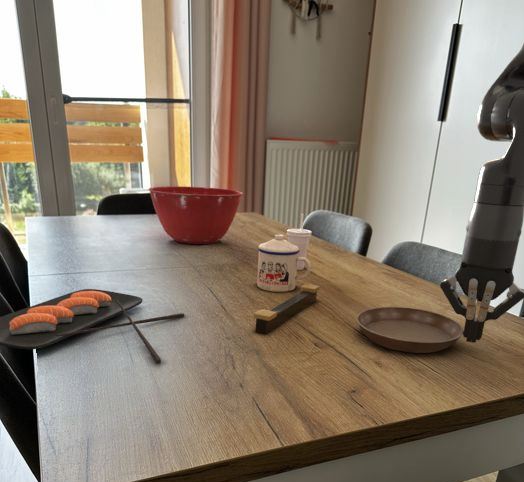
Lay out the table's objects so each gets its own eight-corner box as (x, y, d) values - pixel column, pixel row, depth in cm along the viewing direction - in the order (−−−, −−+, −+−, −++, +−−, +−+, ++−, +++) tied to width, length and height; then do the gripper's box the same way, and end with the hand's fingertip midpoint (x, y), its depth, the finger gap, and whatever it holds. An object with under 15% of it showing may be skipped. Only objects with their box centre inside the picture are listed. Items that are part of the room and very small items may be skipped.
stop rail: (318, 301, 107) (319, 285, 106) (268, 335, 87) (269, 316, 86) (305, 298, 108) (306, 283, 107) (252, 331, 88) (253, 313, 87)
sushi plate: (86, 296, 102) (85, 277, 101) (223, 321, 92) (224, 300, 91) (-42, 344, 77) (-46, 319, 75) (128, 384, 67) (127, 357, 66)
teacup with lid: (251, 289, 113) (253, 236, 108) (261, 280, 121) (264, 230, 116) (305, 296, 110) (309, 241, 106) (312, 286, 118) (316, 235, 114)
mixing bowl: (161, 230, 176) (160, 183, 170) (243, 235, 176) (245, 188, 170) (139, 246, 150) (137, 191, 144) (237, 251, 150) (238, 196, 144)
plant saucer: (380, 360, 79) (383, 342, 78) (340, 322, 95) (342, 306, 94) (481, 356, 83) (485, 339, 82) (427, 320, 99) (429, 305, 98)
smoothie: (301, 272, 130) (306, 215, 125) (279, 268, 133) (283, 212, 128) (312, 268, 135) (317, 213, 130) (291, 264, 138) (295, 210, 133)
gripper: (541, 235, 78) (515, 341, 85) (450, 226, 83) (433, 327, 90) (541, 242, 72) (514, 356, 78) (443, 232, 77) (426, 340, 84)
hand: (471, 340), depth 84 cm, fingers closed
